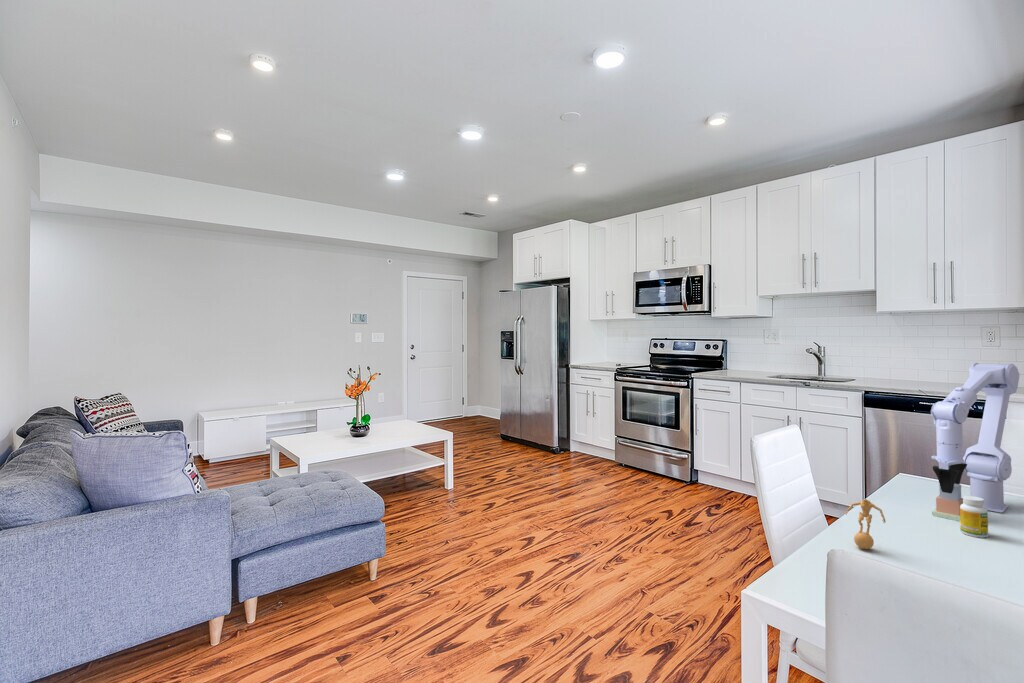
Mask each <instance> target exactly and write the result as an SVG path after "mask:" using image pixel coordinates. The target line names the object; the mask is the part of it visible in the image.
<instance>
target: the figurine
mask: <svg viewBox="0 0 1024 683" xmlns="http://www.w3.org/2000/svg"><path fill="white" fill-rule="evenodd" d="M853 506H860V508H861V511H860V512H859V513H858V514H859V515H858V519H857V520H858V523H859V525H860V528H859V531H858V532H857V533H856V534H855V535H854V537H853V540H854V543H855V545H856V546H857V547H858V548H860V549H862V550H869V549H871V548H873V546H874V544H875V541H874V538H873V536H871V535H870V528H871V523H872V519H873V515H872V514H870V512H871V511H872V510H871V509H873V508H874V509H875V510H877V511H879V514H880V516H881V518H882V520H881V521H883V522H882V524H883V523H884V524H886V518H885V515H884V513H883V510H882V509H881V508H880V507H878V506H877V505H875V504H874V503H872V502H871V501H870V500H868V499H866V498H863V500H862V501H857V502H852V503H851V504H850V506H849V507H847V510H846V511H845V515H846V516H847V514H848V513H849V511H850V510H851V509H852V508H853ZM864 519H865V521H866V523H867V524H866V526H867V528H866V532H864V531H863V529H864V526H863V525H864V524H863V522H862V521H864Z"/></svg>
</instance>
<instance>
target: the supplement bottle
mask: <svg viewBox="0 0 1024 683" xmlns="http://www.w3.org/2000/svg"><path fill="white" fill-rule="evenodd" d="M962 498H963V504H961V505H960V521H959V524H960V527H959V528H960V533H962V534H963V533H964V534H963V535H965V534H966V536H968V535H969V536H968V537H972V536H973V537H974V538H978V537H980V539H985V537H986V538H988V537H989V517H988V516H989V512H988V511H989V510H987V509H986V508H985V507H983V505H984V499H982V498H979V497H974V496H971V495H963V497H962Z"/></svg>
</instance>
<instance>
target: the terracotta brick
mask: <svg viewBox="0 0 1024 683" xmlns="http://www.w3.org/2000/svg"><path fill="white" fill-rule="evenodd" d="M935 503H936V504H935V507H936V508H935V509H936V511H937V512H942V513H947V514H952V515H957V516H960V505H961V504H964V502H963V497H961V499H960V500H959V501H953V500H948V499H943V498H940V494H939V495H938V496H937V497H936V498H935Z"/></svg>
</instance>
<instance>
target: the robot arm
mask: <svg viewBox="0 0 1024 683" xmlns="http://www.w3.org/2000/svg"><path fill="white" fill-rule="evenodd" d="M1019 381H1020V371H1019V369H1018V367H1017V366H1016V365H1015V364H1014V363H979V362H974V363H972V364H971V365H970V367H969V370H968V378H967V380H966V381H965V383H964V384H963V385H962V386H958V387H957V386H956V387H955V388H954V389H953V390H952V391H951V392H950V393H949V394H948V395H947V396H946V397H945V398H944V399H943V400H941V401H937V402H935V403H933V405H932V406H931V409H930V415H931V418H932V419H933V426H934V427H935V428H936V429H935V430H936V431H935V432H936V436H935V437H936V438H935V439H936V455H931V460H936V461H937V462H938V465H933V466H932V471H933V472H934V474H935V475H936V478H937V479H938V484H940V487H941V490H942V492H945V493H952V492H953V488H954V484H960V485H961V480H962V476H963V474H964V473H966V476H967V477H969V483H970V485H969V486H970V487H969V488H970V489H969V490H970V492H969V493H970V496H974V497H979V498H982V499H984V505H983V507H985V508H986V509H987V511H990V512H995V513H1000V514H1004V512H1005V511H1006V510H1007V509H1008V507H1009V505H1008V504H1006V503H1005V501H1004V500H1005V499H1004V498H1005V497H1004V496H1005V495H1004V491H1005V490H1004V481H1007V479H1009V478H1011V475H1012V471H1013V468H1012V457H1011V456H1010V455H1009V453H1007V452H1006V451H1004V450H1003V449H1002V448H1001V445H1002V440H1003V434H1004V429H1005V424H1006V423H1005V422H1006V418H1007V414H1008V413H1007V412H1008V408H1009V402H1010V397H1011V395H1014V394H1016V393H1017V390H1018V388H1019V387H1018V386H1019ZM979 392H982V393H984V394H985V395H986V400H985V403H984V409H983V413H982V414H983V415H982V418H981V424H980V430H979V435H978V441H977V443H975V444H974V445H972V446H969V447H967V448H966V450H965V453H964V445H963V444H964V437H963V423H964V422H966V421H967V418H968V415H969V413H970V412H969V411H970V408H972V406H973V405H974V403H976V401H977V400H978V393H979ZM940 487H939V488H940Z"/></svg>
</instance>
